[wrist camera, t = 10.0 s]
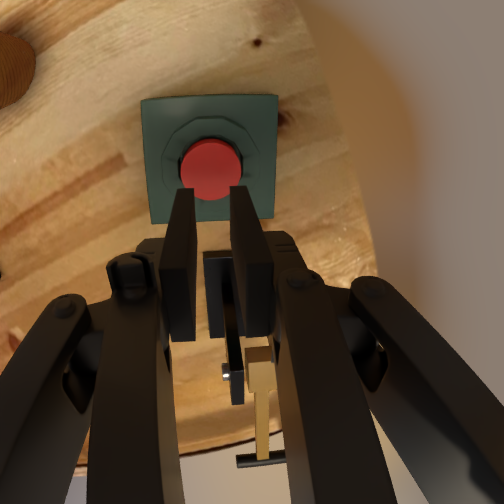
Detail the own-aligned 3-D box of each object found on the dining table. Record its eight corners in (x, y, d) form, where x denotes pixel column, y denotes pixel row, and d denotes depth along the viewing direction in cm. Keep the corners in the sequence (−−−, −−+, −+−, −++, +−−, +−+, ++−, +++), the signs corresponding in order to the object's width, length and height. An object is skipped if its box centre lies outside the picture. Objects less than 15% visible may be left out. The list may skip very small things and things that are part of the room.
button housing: (272, 93, 23) (284, 96, 20) (269, 208, 28) (278, 228, 25) (145, 98, 22) (135, 102, 19) (155, 214, 27) (147, 235, 24)
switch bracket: (281, 325, 36) (307, 413, 26) (209, 331, 35) (215, 423, 25) (288, 247, 31) (327, 334, 21) (203, 251, 30) (204, 345, 20)
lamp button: (238, 137, 21) (241, 141, 20) (238, 190, 23) (241, 199, 22) (180, 139, 21) (178, 144, 20) (184, 193, 23) (182, 202, 22)
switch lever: (285, 452, 28) (290, 468, 26) (235, 457, 27) (238, 474, 25) (289, 343, 25) (296, 358, 23) (226, 348, 25) (228, 364, 22)
